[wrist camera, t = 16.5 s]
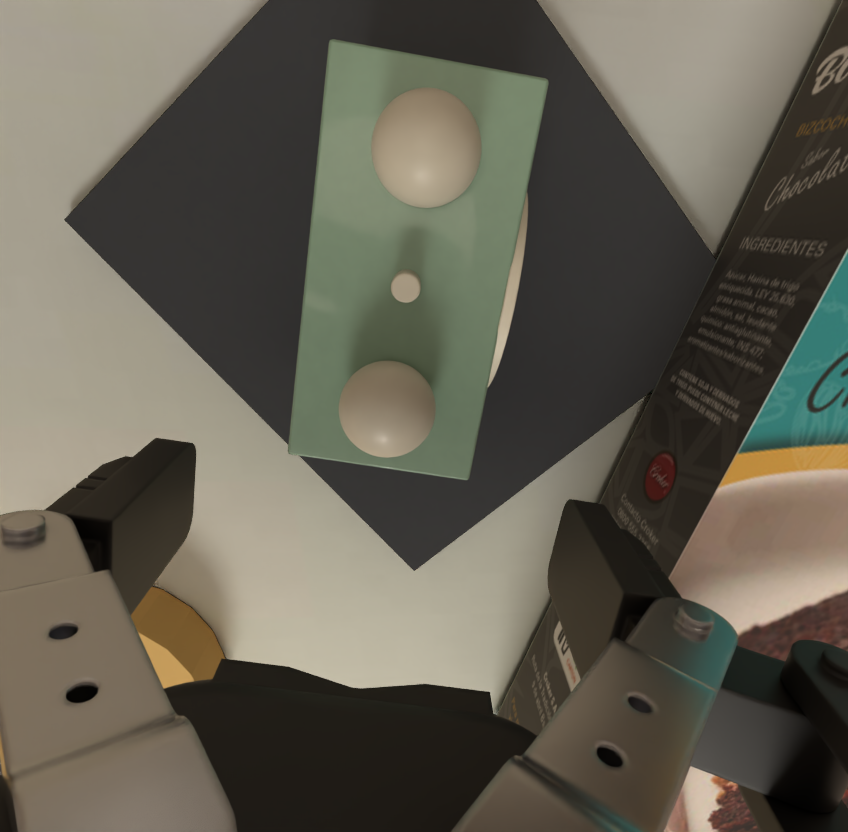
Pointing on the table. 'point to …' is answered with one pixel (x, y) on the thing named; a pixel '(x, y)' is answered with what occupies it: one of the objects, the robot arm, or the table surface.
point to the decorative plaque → (176, 639)
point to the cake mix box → (748, 430)
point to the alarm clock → (411, 256)
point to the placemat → (290, 229)
